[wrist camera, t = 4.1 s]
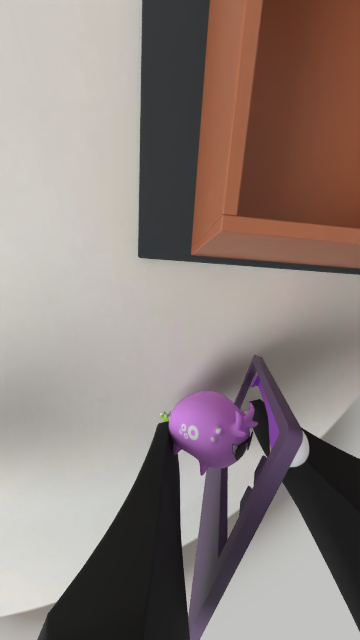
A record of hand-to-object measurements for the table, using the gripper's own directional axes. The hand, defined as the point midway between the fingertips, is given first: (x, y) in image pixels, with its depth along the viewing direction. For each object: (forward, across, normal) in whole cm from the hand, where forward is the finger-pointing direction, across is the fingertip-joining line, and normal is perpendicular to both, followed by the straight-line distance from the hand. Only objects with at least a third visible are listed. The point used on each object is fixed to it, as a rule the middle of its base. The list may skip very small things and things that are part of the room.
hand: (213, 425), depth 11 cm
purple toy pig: (+2, 0, 0) cm, 2 cm away
